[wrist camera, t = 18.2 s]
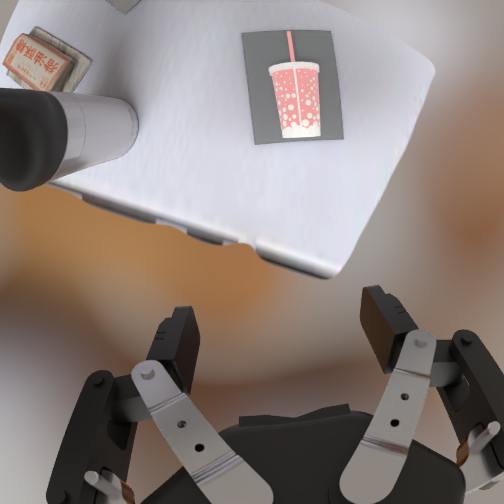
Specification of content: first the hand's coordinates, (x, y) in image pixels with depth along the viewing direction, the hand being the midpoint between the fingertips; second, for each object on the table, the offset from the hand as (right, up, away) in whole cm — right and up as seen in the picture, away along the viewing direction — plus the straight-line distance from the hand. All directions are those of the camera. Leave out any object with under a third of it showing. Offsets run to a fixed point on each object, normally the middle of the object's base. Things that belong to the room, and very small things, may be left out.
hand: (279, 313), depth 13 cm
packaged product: (-34, +33, +16) cm, 50 cm away
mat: (+4, +25, +20) cm, 32 cm away
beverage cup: (+5, +17, +19) cm, 26 cm away
